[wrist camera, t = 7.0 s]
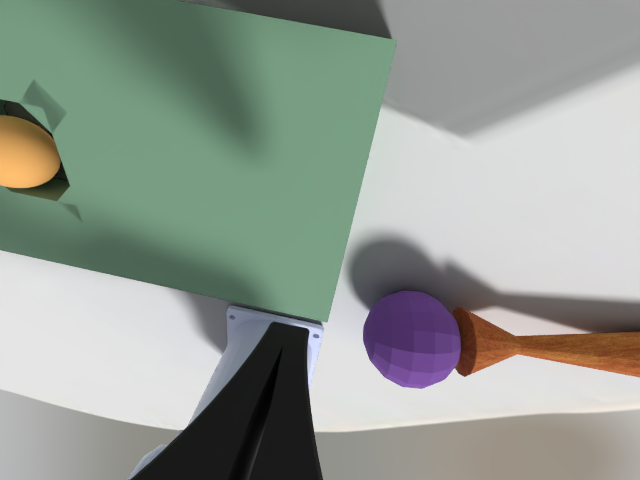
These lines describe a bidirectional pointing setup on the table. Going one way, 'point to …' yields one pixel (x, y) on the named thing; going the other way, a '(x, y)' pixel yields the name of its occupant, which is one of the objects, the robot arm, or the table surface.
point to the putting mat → (193, 145)
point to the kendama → (474, 343)
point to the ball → (26, 154)
